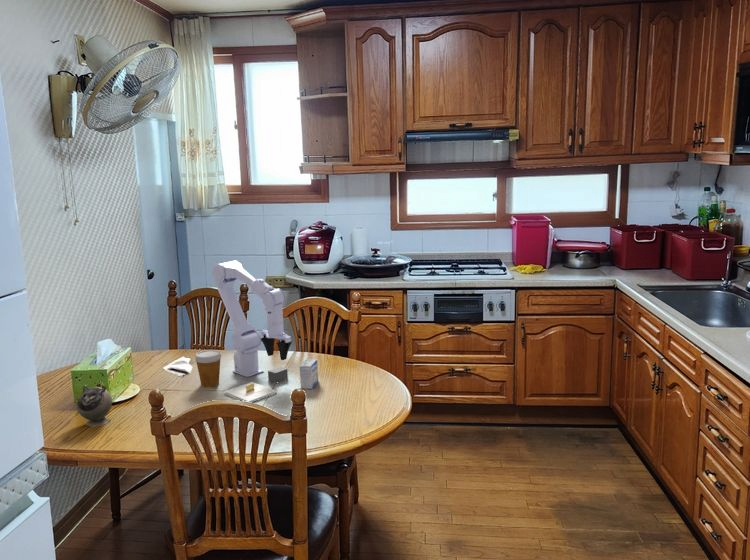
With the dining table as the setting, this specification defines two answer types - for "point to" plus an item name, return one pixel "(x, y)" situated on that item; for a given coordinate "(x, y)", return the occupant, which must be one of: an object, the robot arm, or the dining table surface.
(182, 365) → the cloth
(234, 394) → the board
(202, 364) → the disposable coffee cup
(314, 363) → the medicine box
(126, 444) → the dining table surface
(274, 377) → the block
